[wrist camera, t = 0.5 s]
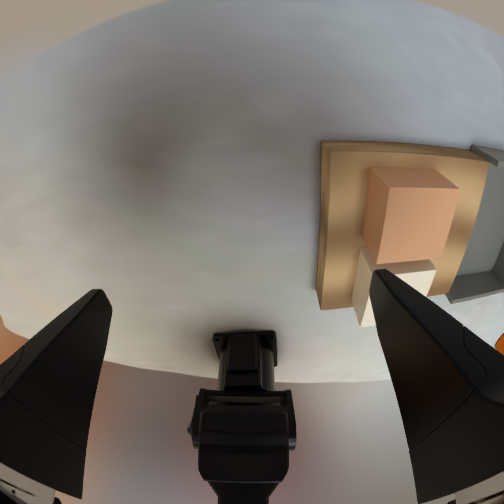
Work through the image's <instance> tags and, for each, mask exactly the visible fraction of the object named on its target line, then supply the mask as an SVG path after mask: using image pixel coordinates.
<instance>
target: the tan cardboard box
mask: <svg viewBox="0 0 504 504" xmlns="http://www.w3.org/2000/svg"><path fill="white" fill-rule="evenodd" d="M459 191H460V189H459V188H458V187H457V186H456V185H454V184H453V183H452V182H451V181H449V180H448V179H447V178H446V177H444V176H443V175H442V174H440V173H439V172H438V171H436V170H433V169H414V168H379V167H370V169H369V181H368V192H367V201H366V210H365V218H364V226H363V234H362V238H363V240H364V241H365V243H366V245H367V247H368V249H369V251H370V253H371V255H372V257H373V259H374V261H375V263H376V264H385V263H395V262H406V261H416V260H426V259H435V258H441V256H442V253H443V250H444V247H445V244H446V240H447V237H448V234H449V230H450V227H451V223H452V220H453V216H454V212H455V208H456V204H457V200H458V195H459Z"/></svg>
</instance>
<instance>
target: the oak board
mask: <svg viewBox="0 0 504 504" xmlns="http://www.w3.org/2000/svg"><path fill="white" fill-rule="evenodd" d="M370 167H379V168H414V169H433V170H436V171H438V172H439V173H440V174H442V175H443V176H444V177H446V178H447V179H448V180H449V181H451V182H452V183H453V184H454V185H456V186H457V187H458V188H459V189H460V191H459V195H458V200H457V204H456V208H455V212H454V216H453V220H452V223H451V227H450V230H449V234H448V237H447V240H446V244H445V247H444V250H443V253H442V256H441V258H435V259H430V260H431V262H432V263H433V265H434V266H435V268H436V269H437V270H436V273H435V276H434V278H433V281H432V284H431V286H430V289H429V291H428V294H427V296H426V297H428V296H434V295H440V294H446V293H449V290H450V288H451V286H452V284H453V281H454V279H455V276H456V274H457V272H458V269H459V266H460V264H461V261H462V259H463V256H464V253H465V251H466V248H467V245H468V242H469V239H470V236H471V233H472V230H473V227H474V223H475V220H476V217H477V213H478V210H479V206H480V202H481V198H482V194H483V190H484V186H485V181H486V177H487V172H488V167H489V162H488V161H487V160H485V159H484V158H482V157H480V156H479V155H477V154H475V153H474V152H472V151H469V150H462V149H455V148H448V147H439V146H430V145H419V144H407V143H392V142H371V141H321V208H320V234H319V253H318V269H317V283H316V292H317V296H318V301H319V305H320V310H329V309H339V308H348V307H354V306H353V303H352V300H351V298H352V293H353V288H354V282H355V277H356V271H357V266H358V260H359V254H360V249H364V248H368V247H367V245H366V243H365V241H364V240H363V238H362V234H363V226H364V218H365V210H366V201H367V192H368V181H369V169H370Z"/></svg>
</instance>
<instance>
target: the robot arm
mask: <svg viewBox="0 0 504 504" xmlns="http://www.w3.org/2000/svg"><path fill="white" fill-rule="evenodd" d="M369 296H370V301H371V305H372V309H373V314H374V318H375V323H376V328H377V332H378V336H379V340H380V343H381V346H382V349H383V353H384V356H385V359H386V362H387V366H388V369H389V372H390V376H391V379H392V383H393V386H394V390H395V393H396V397H397V401H398V405H399V408H400V413H401V416H402V420H403V425H404V429H405V434H406V438H407V443H408V447H409V453H410V458H411V463H412V468H413V475H414V481H415V486H416V494H417V501H418V504H421V503H425V502H428V501H432V500H435V499H438V498H441V497H444V496H447V495H450V494H453V493H455V498H456V499H454V500H452V501H450V502H448V504H504V355H503V354H502V353H500V352H499V351H497V350H496V349H494V348H493V347H492V346H490V345H489V344H487V343H486V342H485V341H483V340H482V339H481V338H479V337H478V336H477V335H475V334H474V333H473V332H472V331H470V330H469V329H468V328H466V327H465V326H464V327H463V324H461V323H460V322H459V321H457V320H456V319H455V318H453V317H452V316H451V315H450V314H448V313H447V312H446V311H444V310H443V309H442V308H440V307H439V306H438V305H436V304H435V303H434V302H432V301H431V300H430V299H428V298H427V297H425V296H424V295H423V294H421V293H420V292H419V291H417V290H416V289H414V288H413V287H412V286H410V285H409V284H407V283H406V282H404V281H403V280H402V279H400V278H399V277H397V276H396V275H394V274H393V273H392V272H390V271H389V270H387V269H376V270H374V271H373V274H372V278H371V283H370V288H369ZM111 317H112V306H111V304H110V302H109V300H108V298H107V296H106V294H105V292H104V291H103V290H102V289H92V290H90V291H89V292H88V293H86V294H85V295H84V296H83V297H81V298H80V299H79V300H77V301H76V302H75V303H74V304H72V305H71V306H70V307H69V308H67V309H66V310H65V311H64V312H62V313H61V314H60V315H59V316H57V317H56V318H55V319H54V320H52V321H51V322H50V323H49V324H48V325H46V326H45V327H44V328H43V329H42V330H40V331H39V332H38V333H37V334H36V335H35V336H33V337H32V338H31V339H30V340H29V341H28V342H26V343H25V345H23V346H22V347H21V348H19V349H18V351H16V352H15V353H14V354H13V355H11V356H10V357H9V358H8V359H7V360H5V361H4V362H3V363H2V364H1V365H0V504H62V503H61V502H60V500H59V499H58V498H57V497H55V491H56V490H57V491H60V492H62V493H65V494H67V495H70V496H73V497H76V498H78V499H82V490H83V477H84V467H85V466H84V465H85V457H86V448H87V440H88V434H89V427H90V421H91V415H92V410H93V404H94V399H95V394H96V389H97V385H98V380H99V376H100V371H101V367H102V363H103V359H104V355H105V351H106V345H107V340H108V334H109V328H110V322H111ZM213 343H214V346H215V349H216V352H217V355H218V358H219V360H220V363H219V374H218V386H217V390H206V389H202V388H201V389H200V392H199V395H197V396H196V403H195V408H194V413H193V415H192V418H191V420H190V423H189V426H188V429H187V431H188V433H189V434H190V435H191V437H192V441H193V446H194V448H195V449H198V466H199V468H198V469H199V472H200V474H201V476H202V478H203V479H204V480H205V481H208V483H209V484H210V486H211V487H212V489H213V490H214V492H215V493H216V494H217V496H218V504H268V503H269V500H268V498H269V496H270V495H271V494H272V492H273V491H274V489H275V488H276V487H277V485H278V484H279V483H280V482H282V481H283V479H284V477H285V475H286V474H287V471H288V468H289V451H294V450H295V446H296V421H295V414H294V407H293V401H292V394H291V390H285V391H275V382H274V367H276V366H277V345H276V333H275V332H273V331H269V332H251V333H226V334H214V335H213Z"/></svg>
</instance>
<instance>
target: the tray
mask: <svg viewBox="0 0 504 504" xmlns="http://www.w3.org/2000/svg"><path fill="white" fill-rule="evenodd" d="M471 151H472V152H474V153H475V154H477V155H479V156H480V157H482V158H484V159H485V160H487V161H488V162H489V167H488V172H487V177H486V181H485V186H484V190H483V194H482V198H481V202H480V206H479V210H478V213H477V217H476V220H475V223H474V227H473V230H472V233H471V236H470V239H469V242H468V245H467V248H466V251H465V253H464V256H463V259H462V261H461V264H460V266H459V269H458V272H457V274H456V276H455V279H454V281H453V284H452V286H451V288H450V290H449V293H446V294H445V295H446V297H447V298H448V300H449V302H450V303H451V304H454V303H458V302H463V301H467V300H472V299H476V298H481V297H485V296H489V295H493V294H497V293H501V292H504V151H500V150H495V149H490V148H485V147H480V146H474V145H471Z"/></svg>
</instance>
